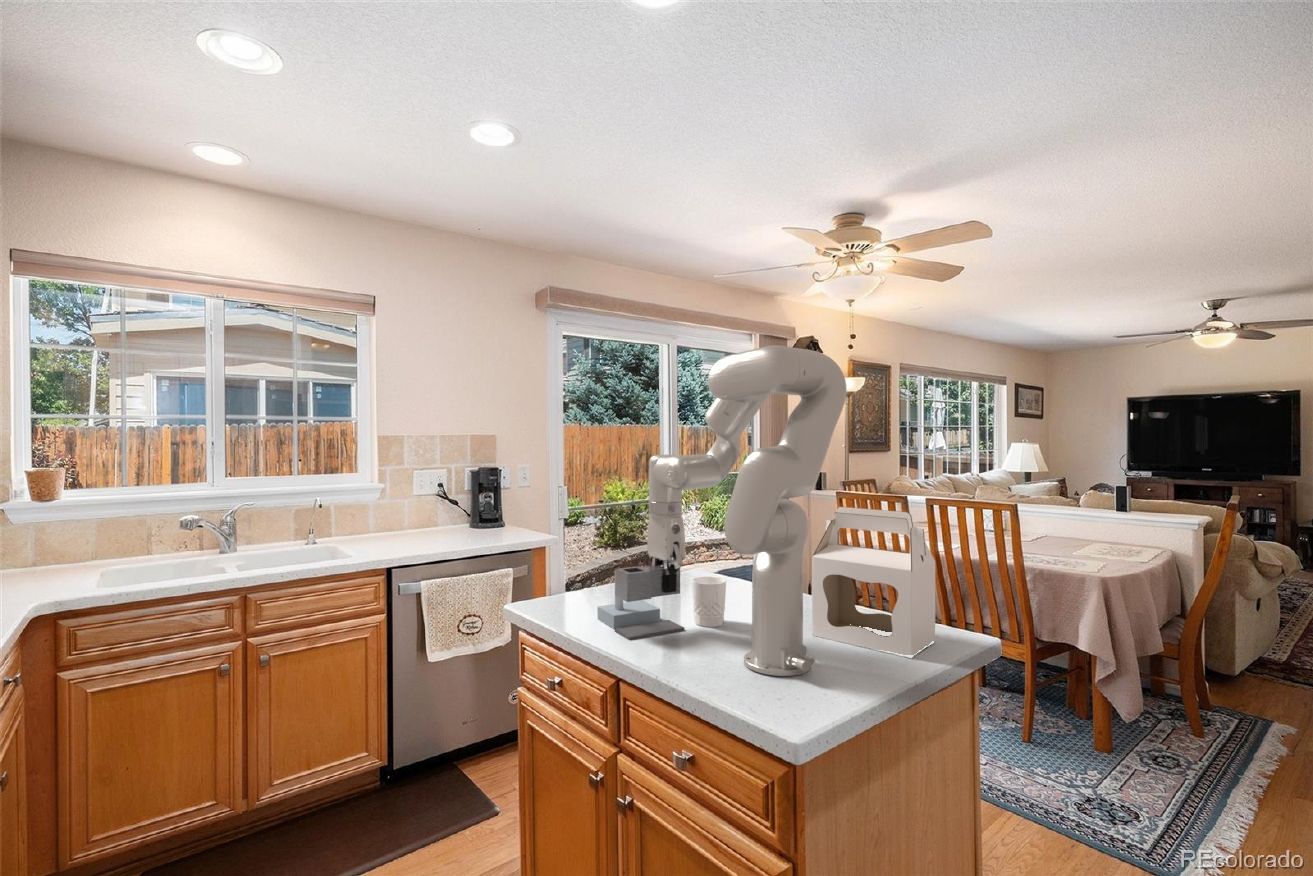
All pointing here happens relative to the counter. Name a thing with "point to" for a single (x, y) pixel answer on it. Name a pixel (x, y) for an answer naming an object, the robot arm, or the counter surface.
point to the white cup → (709, 601)
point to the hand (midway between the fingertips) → (664, 588)
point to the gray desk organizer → (641, 583)
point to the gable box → (874, 566)
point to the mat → (649, 629)
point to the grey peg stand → (628, 613)
